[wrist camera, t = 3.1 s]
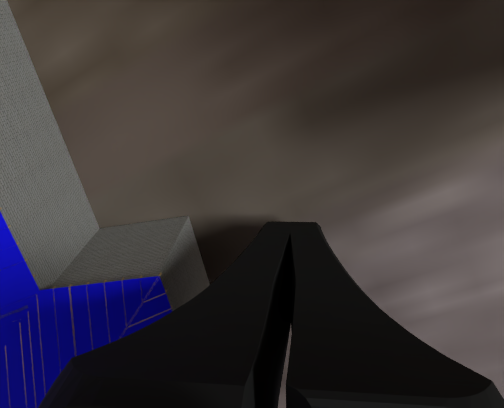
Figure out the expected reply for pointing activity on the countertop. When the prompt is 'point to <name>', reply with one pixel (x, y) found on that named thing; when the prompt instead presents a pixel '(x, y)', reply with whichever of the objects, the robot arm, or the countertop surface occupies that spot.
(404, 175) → the countertop surface
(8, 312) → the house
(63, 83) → the countertop surface
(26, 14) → the countertop surface
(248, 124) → the countertop surface
